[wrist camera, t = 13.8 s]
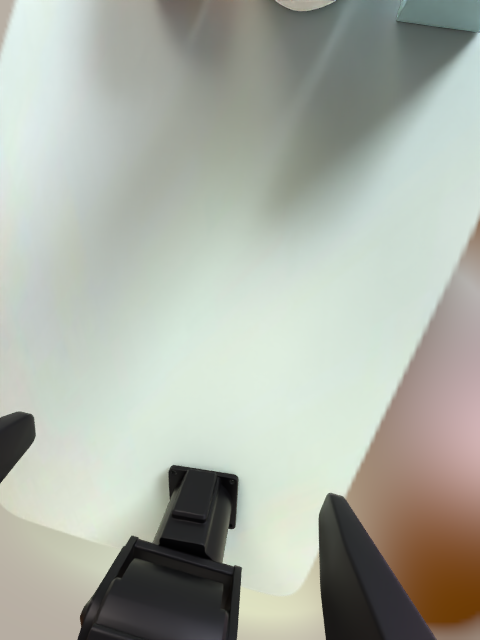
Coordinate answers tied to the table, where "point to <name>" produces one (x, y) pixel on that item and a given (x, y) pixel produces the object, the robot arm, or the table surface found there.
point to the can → (304, 4)
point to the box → (442, 13)
